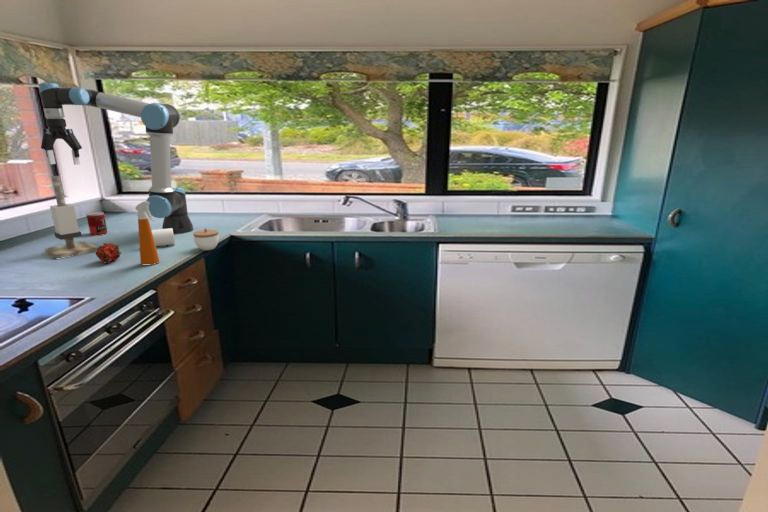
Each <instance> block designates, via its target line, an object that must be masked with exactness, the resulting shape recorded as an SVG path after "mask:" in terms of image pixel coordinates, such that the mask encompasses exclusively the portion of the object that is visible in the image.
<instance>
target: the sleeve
mask: <svg viewBox="0 0 768 512" xmlns="http://www.w3.org/2000/svg"><path fill="white" fill-rule="evenodd" d="M49 207H50V212H51V213H50V214H51V217H52V221H53V226H54V231H55V232H56V233H58V234H60V235H64V234H70V233H76V232H79V231H80V229H79V224H78V220H77V215H76V209H75V205H73V204H71V203H66V206H61V207H58V205H57V204H56V205H55V204H54V205H50V206H49Z"/></svg>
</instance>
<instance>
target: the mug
mask: <svg viewBox="0 0 768 512" xmlns="http://www.w3.org/2000/svg"><path fill="white" fill-rule="evenodd" d="M151 231H152V235H153V238H154V242H155V246H160V247H167V246H166V245H169V246H174V245H176V243H175V236H174V234H173V229H172V228H169V229H162V228H158V229H151Z"/></svg>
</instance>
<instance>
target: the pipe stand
mask: <svg viewBox="0 0 768 512" xmlns="http://www.w3.org/2000/svg"><path fill="white" fill-rule="evenodd" d="M51 183H52V187H53V190H54V197H55V199H56V205H58V207H61V206H66V204H67V203H66V199H65V195H64V189H63V184H62V180H61V176H60V175H52V176H51ZM63 241H65V244H62V245H57V246H51V247H46V248H44V252H46V253H45V254H47V253H48V254H49V255H48V254H47V255H48V256H50V255H51V256H50V257H52V256H53V257H55V258H62V257H67V258H69V257H68V256H72V255H77V256H80V255H79V254H82V255H84V254H83V253H87V254H90V253H89V252H92V253H95V252H94V251H97V249H98V247H97V246H96V245H94V244H92V243H90V242H87V241H80V242H75V238H69V239H63ZM53 257H52V258H53ZM72 257H73V256H72ZM55 258H54V259H55ZM62 259H63V258H62Z"/></svg>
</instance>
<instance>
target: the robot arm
mask: <svg viewBox="0 0 768 512" xmlns="http://www.w3.org/2000/svg"><path fill="white" fill-rule="evenodd" d="M38 89H39V95H40V98H41V102H42V109H43V113H44V118H46V119H45V121H46V122H45V123H46V127H47V128H43V129H42V130H43V131H42V133H43V134H42V135H43V136H42V139H41V145H40V149H42V150H45V154H46V157H47V160H48V163H49V165H56V159H55V154H54V150H53V146H54V144H55V142H56V140H58V139H59V140H62V141H64V142H65V143H66V144H67V145H68V146H69V147H70V148H71V157H72V160H73V165H81V162H80V153H79V152H80V151H79V150H82V148H83V146H82V145H81V144H80V141H79V140H78V139H77V137H76V135H75V133H74V131H73V129H72V128H67V121H66V119H65V112H64V109H63V106H65V105H66V106H88V107H94V108H98V109H104V110H107V111H112V112H116V113H119V114H125V115H129V116H133V117H138V118H140V120H141V122H142V124H143V125H144V126H145V133H146V134H147V135H148V136H149V150H150V172H151V173H150V174H151V175H150V176H151V186H150V188H149V189H148V197H147V198H146V200H145V201H148V202H149V203H150V204H149V211H150V213H151V215H152V217H153V218H156V219H163V220H162V227H161V229H169V228H172V229H173V235H174V234H184V233H189V232H191V231H193V230H194V224H192V221H191V219H190V216H189V214H188V207H187V206H188V205H187V197H186V195H187V194H186V191H185V189H184V187H183V188H182V187H172V173H171V172H172V169H171V141H170V140H171V139H170V138H171V136H173V135H174V128H175V127H177V126H178V124H179V122H180V119H181V116H180V113H179V111H178V109H177V108H176V107H175V106H173V105H172V104H169V103H159V102H152V103H151V102H150V103H148V102H146V101H145V102H143V101H141V100H140V101H139V100H135V99H131V98H127V97H122V96H118V95H114V94H109V93H105V92H102V91H101V92H100V91H97V90H95V89H88V88H87V89H85V88H84V87H59V84H58V83H54V82H40V83H39V84H38ZM66 128H67V129H66Z"/></svg>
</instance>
